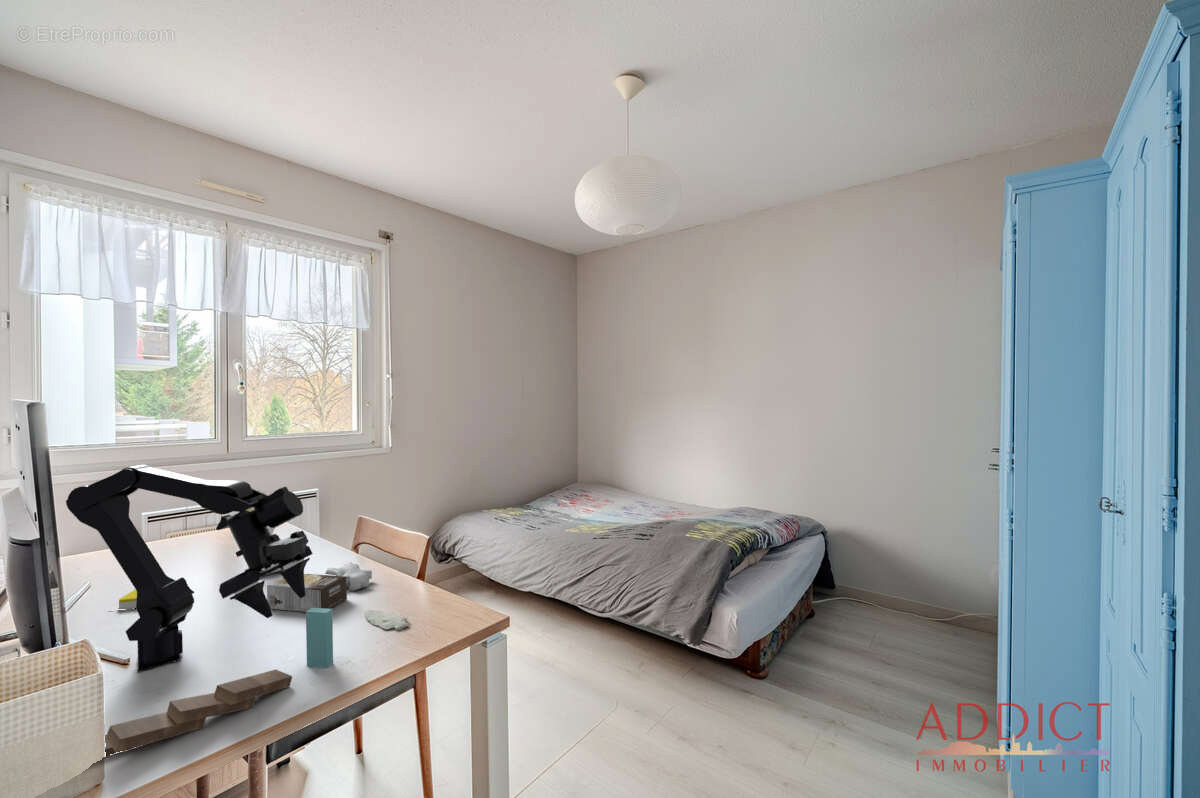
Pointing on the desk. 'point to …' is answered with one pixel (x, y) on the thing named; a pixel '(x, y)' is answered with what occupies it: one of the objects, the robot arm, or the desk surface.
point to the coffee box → (308, 593)
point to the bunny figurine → (352, 575)
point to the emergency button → (128, 600)
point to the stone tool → (386, 620)
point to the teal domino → (319, 637)
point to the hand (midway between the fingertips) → (287, 606)
